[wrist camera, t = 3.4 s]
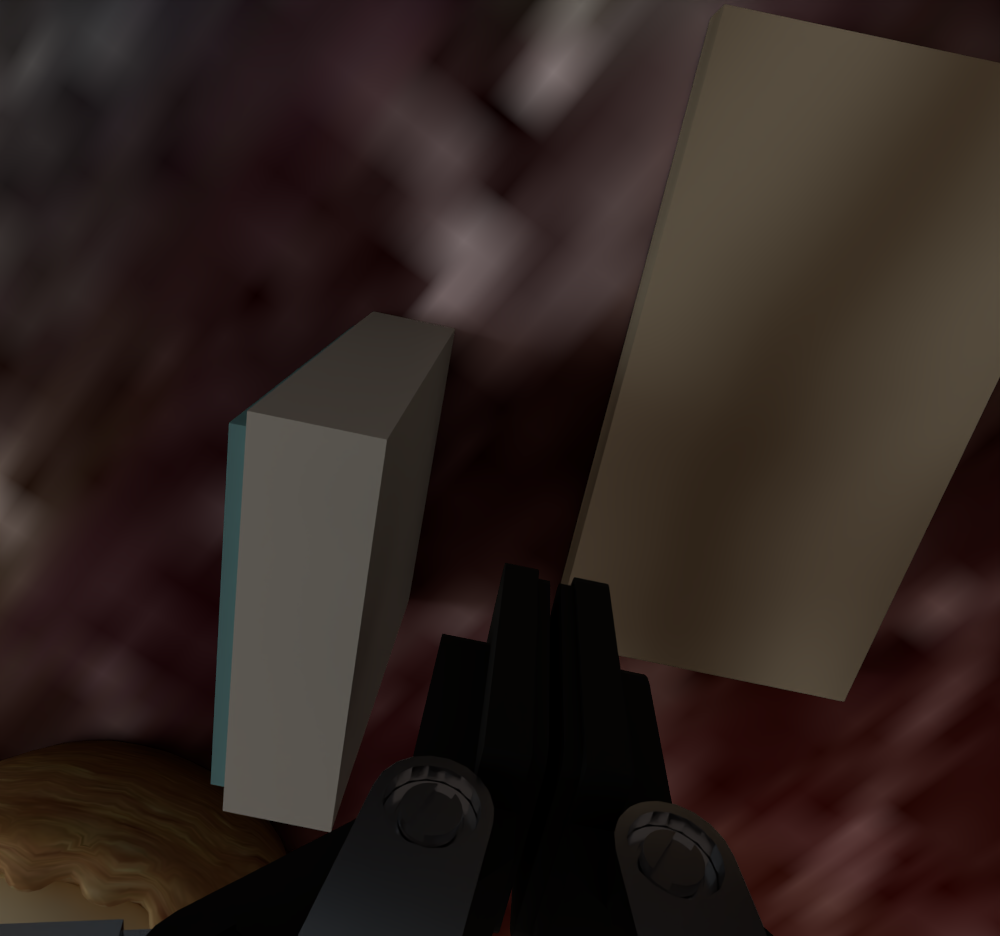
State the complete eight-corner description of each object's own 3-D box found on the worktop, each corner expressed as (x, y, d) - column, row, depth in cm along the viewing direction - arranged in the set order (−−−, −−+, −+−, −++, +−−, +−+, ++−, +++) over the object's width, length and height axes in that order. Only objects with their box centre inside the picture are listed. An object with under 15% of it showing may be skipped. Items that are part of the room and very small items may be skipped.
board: (1087, 98, 13) (1136, 92, 12) (826, 669, 18) (844, 701, 17) (710, 18, 13) (725, 4, 12) (552, 612, 18) (552, 641, 17)
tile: (455, 328, 16) (386, 439, 9) (408, 599, 18) (330, 832, 12) (359, 308, 16) (223, 405, 9) (327, 582, 18) (204, 807, 12)
